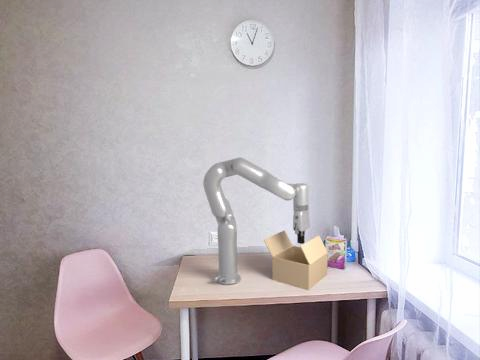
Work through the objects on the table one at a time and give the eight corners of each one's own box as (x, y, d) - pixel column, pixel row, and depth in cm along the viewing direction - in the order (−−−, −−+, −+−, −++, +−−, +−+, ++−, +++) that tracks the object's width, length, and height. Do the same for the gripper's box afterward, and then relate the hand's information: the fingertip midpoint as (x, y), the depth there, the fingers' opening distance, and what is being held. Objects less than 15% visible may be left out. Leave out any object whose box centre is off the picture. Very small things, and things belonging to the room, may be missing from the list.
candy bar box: (324, 266, 175) (324, 238, 173) (326, 263, 179) (326, 235, 177) (344, 270, 169) (345, 240, 167) (346, 266, 173) (347, 238, 172)
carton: (308, 290, 146) (308, 265, 145) (272, 279, 159) (272, 257, 157) (327, 274, 164) (327, 252, 162) (293, 266, 176) (293, 245, 175)
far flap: (264, 239, 160) (263, 239, 160) (272, 256, 158) (272, 256, 158) (284, 230, 176) (283, 230, 177) (292, 245, 174) (292, 246, 174)
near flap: (309, 265, 145) (310, 264, 145) (299, 246, 147) (300, 245, 147) (326, 252, 162) (327, 252, 162) (318, 235, 164) (319, 235, 164)
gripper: (300, 211, 149) (300, 248, 151) (314, 206, 161) (314, 240, 163) (287, 209, 153) (287, 245, 155) (300, 204, 165) (300, 238, 167)
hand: (300, 243), depth 159 cm, fingers closed
